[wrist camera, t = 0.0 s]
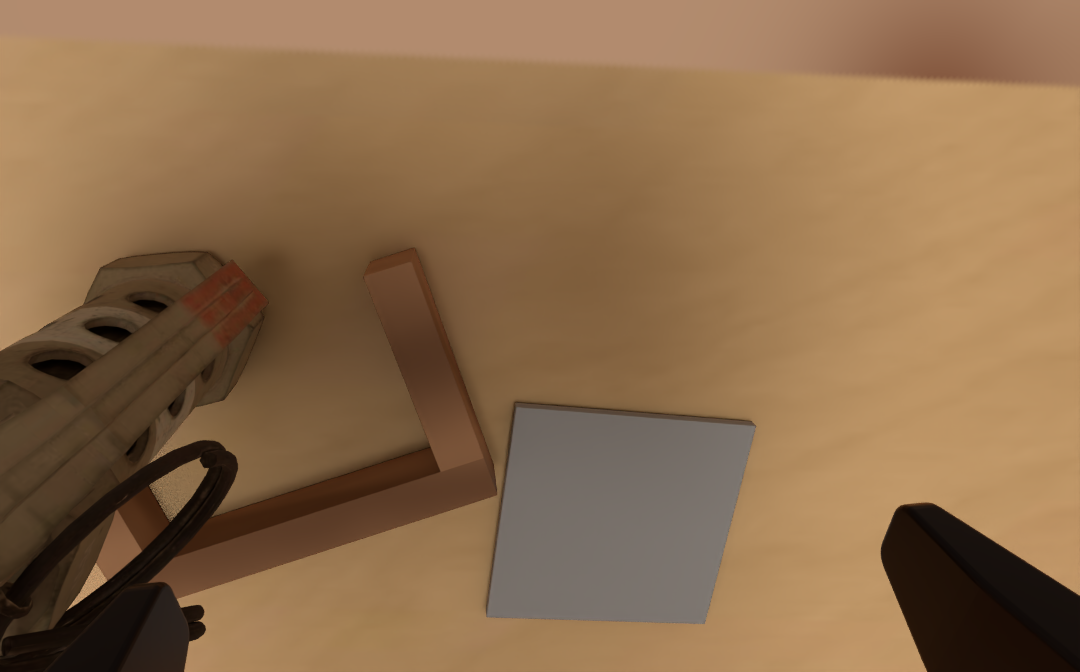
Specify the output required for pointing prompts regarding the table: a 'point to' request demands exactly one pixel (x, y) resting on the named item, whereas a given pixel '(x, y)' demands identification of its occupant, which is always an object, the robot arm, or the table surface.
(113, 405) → the grenade model
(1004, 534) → the table surface
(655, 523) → the felt mat
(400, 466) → the brown flat open frame
